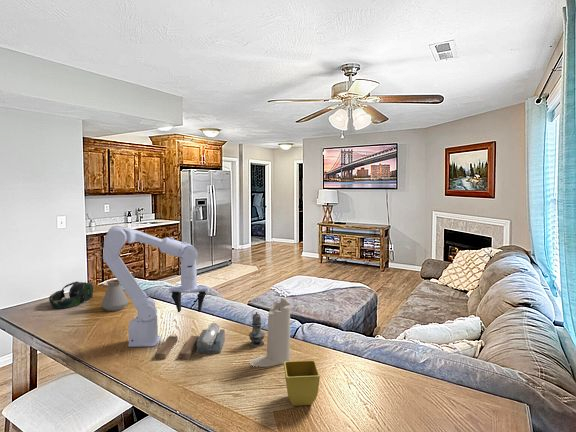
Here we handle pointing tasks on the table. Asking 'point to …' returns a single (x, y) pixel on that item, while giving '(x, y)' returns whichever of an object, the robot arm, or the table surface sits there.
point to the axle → (210, 335)
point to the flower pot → (302, 381)
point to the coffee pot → (115, 296)
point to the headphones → (72, 295)
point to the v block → (216, 345)
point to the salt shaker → (256, 332)
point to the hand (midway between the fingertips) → (189, 311)
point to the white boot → (277, 336)
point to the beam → (171, 342)
